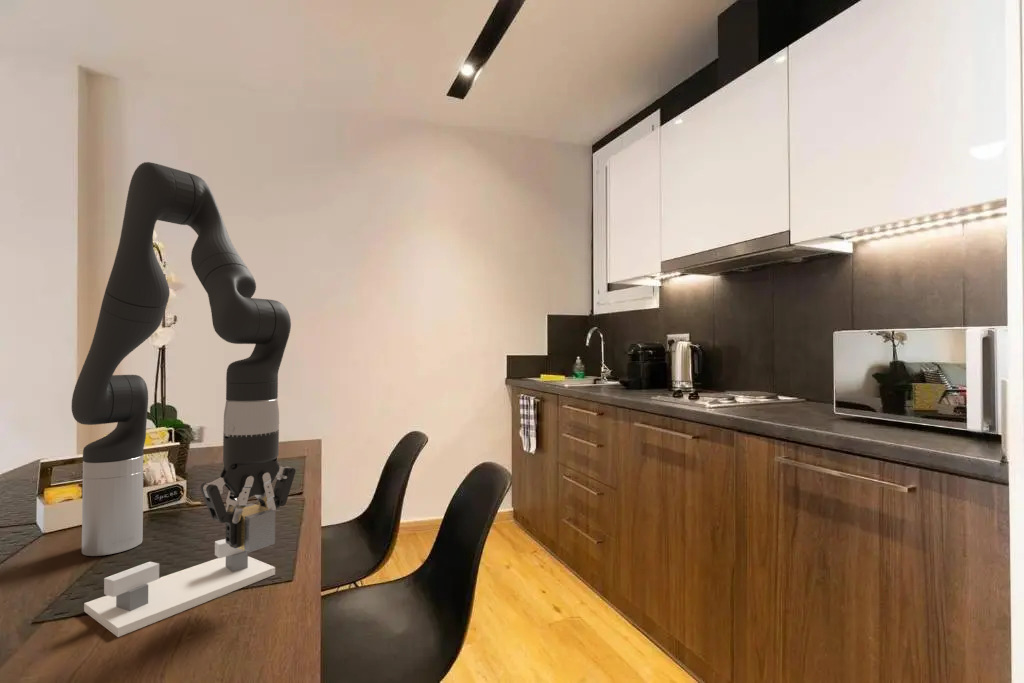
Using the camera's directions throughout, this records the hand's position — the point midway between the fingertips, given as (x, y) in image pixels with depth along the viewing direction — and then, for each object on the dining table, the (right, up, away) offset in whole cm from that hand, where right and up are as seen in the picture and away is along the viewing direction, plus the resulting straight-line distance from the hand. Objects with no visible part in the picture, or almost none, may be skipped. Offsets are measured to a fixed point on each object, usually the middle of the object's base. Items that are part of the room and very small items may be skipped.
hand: (250, 541), depth 76 cm
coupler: (0, 0, 0) cm, 0 cm away
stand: (-11, -9, +2) cm, 14 cm away
